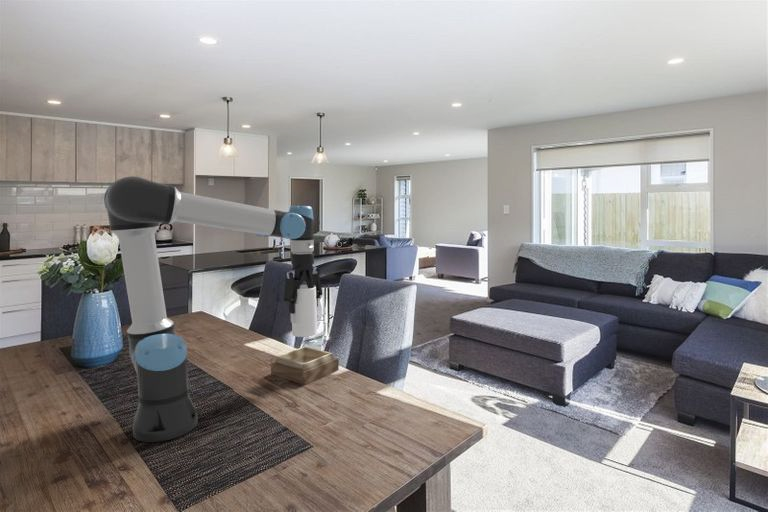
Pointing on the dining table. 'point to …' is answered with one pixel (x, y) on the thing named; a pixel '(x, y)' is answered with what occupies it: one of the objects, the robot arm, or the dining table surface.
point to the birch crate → (304, 358)
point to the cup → (306, 313)
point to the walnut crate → (301, 375)
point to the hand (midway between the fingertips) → (304, 319)
